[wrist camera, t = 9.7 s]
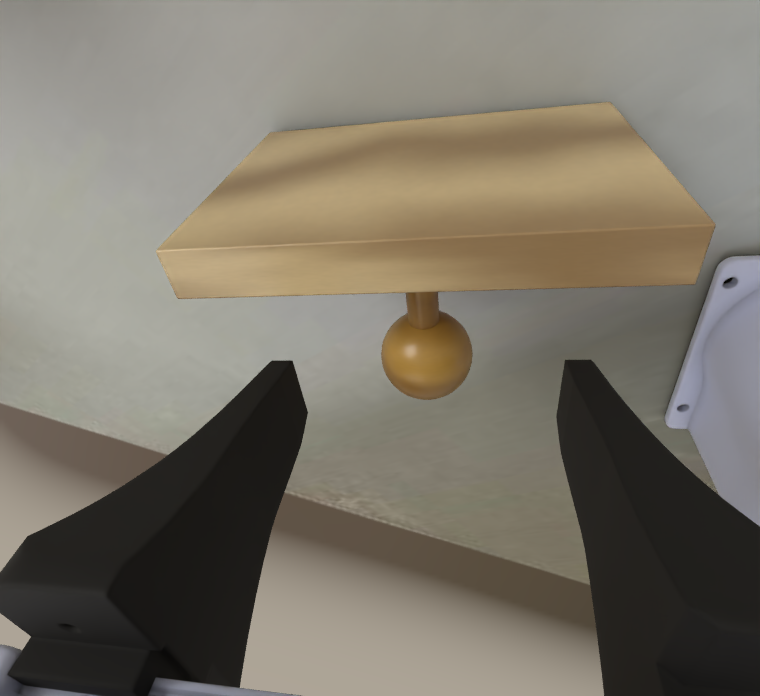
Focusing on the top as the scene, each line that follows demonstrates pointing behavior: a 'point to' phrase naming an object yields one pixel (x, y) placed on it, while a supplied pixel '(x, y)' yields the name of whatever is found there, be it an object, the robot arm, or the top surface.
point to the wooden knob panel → (442, 221)
